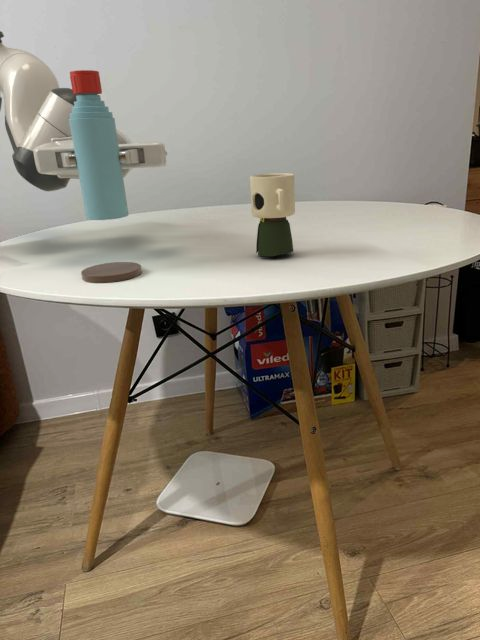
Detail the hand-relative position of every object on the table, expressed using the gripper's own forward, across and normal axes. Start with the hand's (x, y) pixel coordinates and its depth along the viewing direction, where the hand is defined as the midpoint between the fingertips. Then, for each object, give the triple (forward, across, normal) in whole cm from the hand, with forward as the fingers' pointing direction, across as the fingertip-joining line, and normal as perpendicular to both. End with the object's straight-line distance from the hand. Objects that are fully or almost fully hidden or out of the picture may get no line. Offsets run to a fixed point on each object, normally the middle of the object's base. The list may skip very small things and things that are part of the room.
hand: (97, 159), depth 74 cm
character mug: (0, -26, -17) cm, 31 cm away
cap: (-1, 0, +11) cm, 11 cm away
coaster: (+4, 0, -17) cm, 17 cm away
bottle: (-1, 0, -8) cm, 9 cm away
